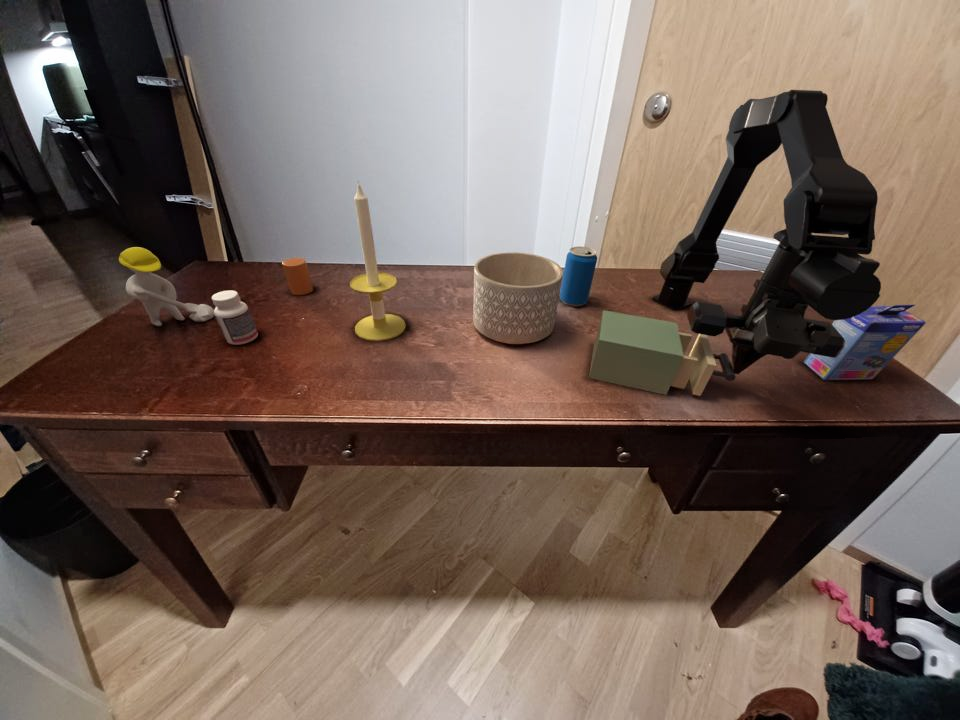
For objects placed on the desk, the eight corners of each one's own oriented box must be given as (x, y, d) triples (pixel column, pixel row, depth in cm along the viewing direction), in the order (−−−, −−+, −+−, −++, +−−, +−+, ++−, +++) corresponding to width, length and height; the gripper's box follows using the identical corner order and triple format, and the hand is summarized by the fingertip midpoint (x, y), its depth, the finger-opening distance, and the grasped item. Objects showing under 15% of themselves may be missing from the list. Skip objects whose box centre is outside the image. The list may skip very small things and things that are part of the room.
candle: (413, 333, 72) (399, 184, 56) (362, 346, 68) (331, 189, 52) (396, 311, 79) (379, 173, 63) (349, 321, 75) (318, 176, 59)
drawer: (717, 368, 64) (732, 339, 61) (727, 402, 57) (746, 371, 54) (626, 350, 68) (636, 321, 64) (626, 380, 61) (636, 349, 57)
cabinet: (662, 359, 67) (677, 322, 63) (666, 395, 59) (683, 356, 55) (593, 346, 70) (603, 309, 66) (588, 378, 62) (599, 339, 58)
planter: (487, 302, 83) (490, 247, 76) (559, 315, 79) (569, 259, 72) (460, 338, 71) (460, 277, 63) (543, 357, 67) (554, 294, 59)
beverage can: (587, 309, 82) (599, 257, 75) (558, 306, 83) (567, 254, 76) (586, 296, 87) (597, 247, 80) (559, 293, 88) (568, 244, 81)
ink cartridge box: (825, 382, 63) (883, 308, 55) (800, 363, 68) (850, 292, 59) (876, 380, 64) (941, 307, 56) (848, 361, 69) (904, 291, 60)
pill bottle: (265, 333, 70) (249, 291, 65) (242, 348, 66) (223, 304, 61) (243, 328, 72) (226, 286, 66) (220, 342, 68) (199, 298, 62)
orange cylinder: (311, 284, 88) (303, 256, 84) (314, 292, 85) (307, 263, 81) (289, 288, 86) (280, 259, 82) (292, 296, 83) (283, 267, 79)
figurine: (180, 337, 68) (138, 260, 59) (140, 330, 70) (93, 254, 61) (222, 312, 76) (190, 240, 67) (185, 306, 78) (149, 235, 69)
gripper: (721, 296, 46) (677, 390, 55) (903, 324, 41) (822, 421, 51) (707, 264, 54) (671, 350, 64) (856, 285, 50) (794, 373, 59)
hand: (734, 372), depth 59 cm, fingers closed
